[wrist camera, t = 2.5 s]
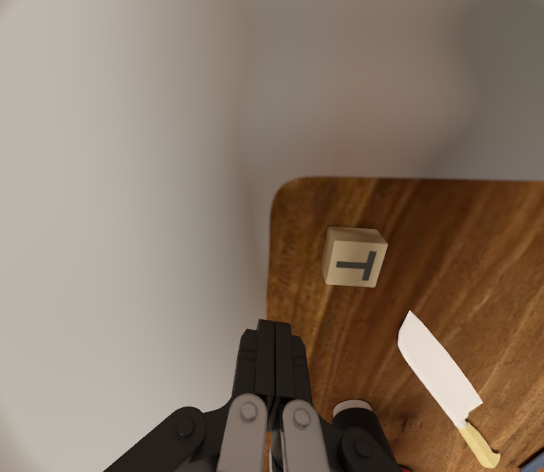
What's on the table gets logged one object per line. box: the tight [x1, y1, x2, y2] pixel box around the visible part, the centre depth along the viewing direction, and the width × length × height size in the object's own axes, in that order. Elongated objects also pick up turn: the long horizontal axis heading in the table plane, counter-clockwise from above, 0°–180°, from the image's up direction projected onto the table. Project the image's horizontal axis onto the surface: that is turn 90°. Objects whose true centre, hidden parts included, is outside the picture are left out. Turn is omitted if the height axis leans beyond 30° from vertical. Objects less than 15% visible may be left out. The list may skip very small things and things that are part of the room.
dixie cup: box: [332, 400, 397, 464], centre depth 28 cm, size 8×8×11 cm
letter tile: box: [321, 226, 388, 287], centre depth 21 cm, size 4×4×3 cm
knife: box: [398, 311, 500, 468], centre depth 31 cm, size 1×34×5 cm
